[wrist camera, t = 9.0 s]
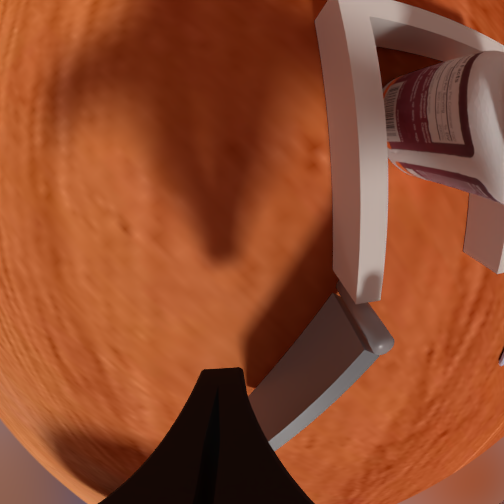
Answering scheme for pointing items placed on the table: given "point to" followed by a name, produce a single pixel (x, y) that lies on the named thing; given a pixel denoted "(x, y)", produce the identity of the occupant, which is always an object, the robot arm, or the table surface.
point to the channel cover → (319, 366)
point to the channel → (383, 131)
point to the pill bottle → (450, 123)
